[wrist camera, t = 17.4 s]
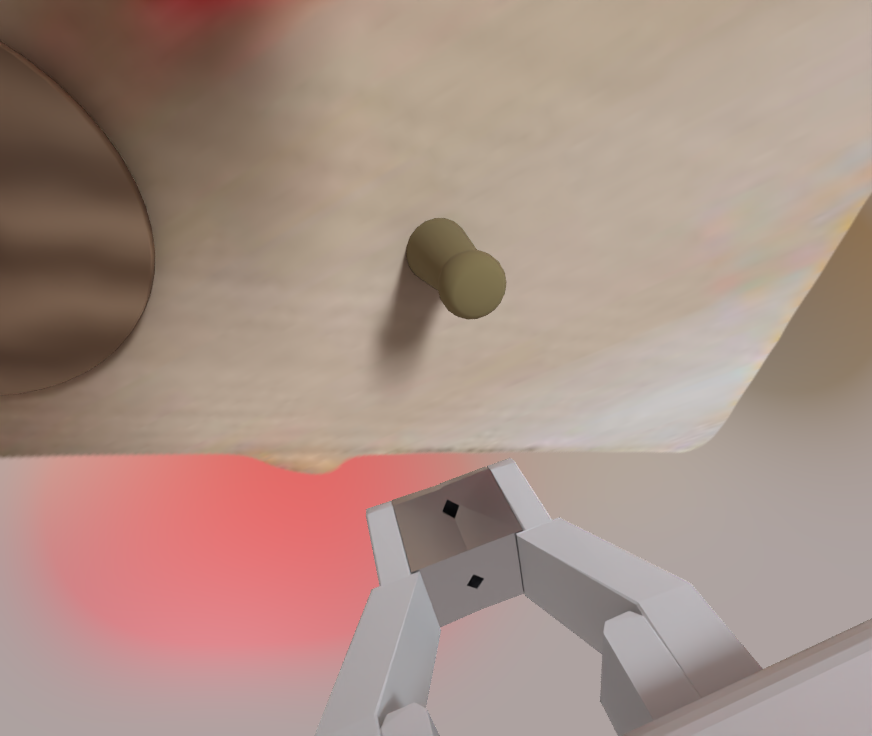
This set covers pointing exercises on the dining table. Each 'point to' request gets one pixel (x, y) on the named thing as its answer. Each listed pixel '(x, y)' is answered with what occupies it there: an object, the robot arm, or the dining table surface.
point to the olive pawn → (456, 268)
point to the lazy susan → (63, 235)
